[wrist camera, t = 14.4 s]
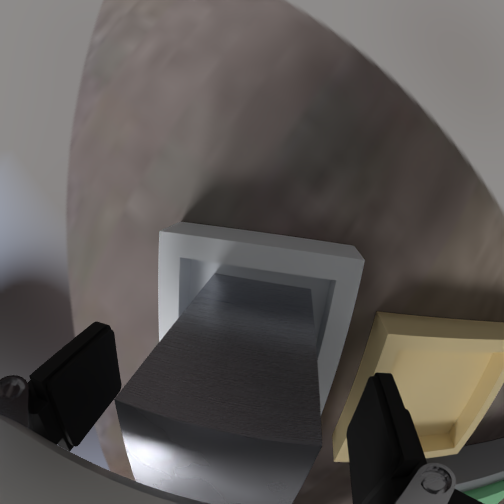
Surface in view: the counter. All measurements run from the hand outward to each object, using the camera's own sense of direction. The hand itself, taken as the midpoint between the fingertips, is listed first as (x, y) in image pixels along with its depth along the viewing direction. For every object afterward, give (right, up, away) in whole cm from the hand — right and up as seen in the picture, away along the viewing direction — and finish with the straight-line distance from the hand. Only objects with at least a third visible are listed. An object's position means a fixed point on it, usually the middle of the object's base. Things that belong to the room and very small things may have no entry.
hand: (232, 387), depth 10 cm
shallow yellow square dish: (+11, -4, +6) cm, 13 cm away
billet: (+1, +1, +5) cm, 5 cm away
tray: (0, -2, +7) cm, 7 cm away
